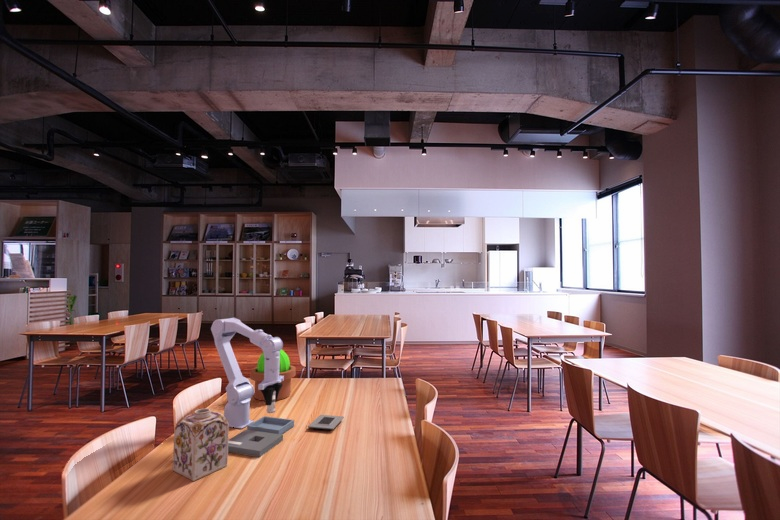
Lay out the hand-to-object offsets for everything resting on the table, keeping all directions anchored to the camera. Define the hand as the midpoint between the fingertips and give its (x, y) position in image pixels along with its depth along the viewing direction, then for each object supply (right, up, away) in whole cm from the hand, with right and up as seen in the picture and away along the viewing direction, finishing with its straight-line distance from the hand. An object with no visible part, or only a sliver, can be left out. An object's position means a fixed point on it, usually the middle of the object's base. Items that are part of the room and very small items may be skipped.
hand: (271, 403), depth 149 cm
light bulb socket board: (-2, -10, -14) cm, 17 cm away
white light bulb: (0, -3, 0) cm, 3 cm away
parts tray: (0, -10, 0) cm, 10 cm away
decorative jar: (-12, -9, -31) cm, 34 cm away
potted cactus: (-13, -13, +43) cm, 47 cm away
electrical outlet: (+21, -12, +5) cm, 25 cm away
